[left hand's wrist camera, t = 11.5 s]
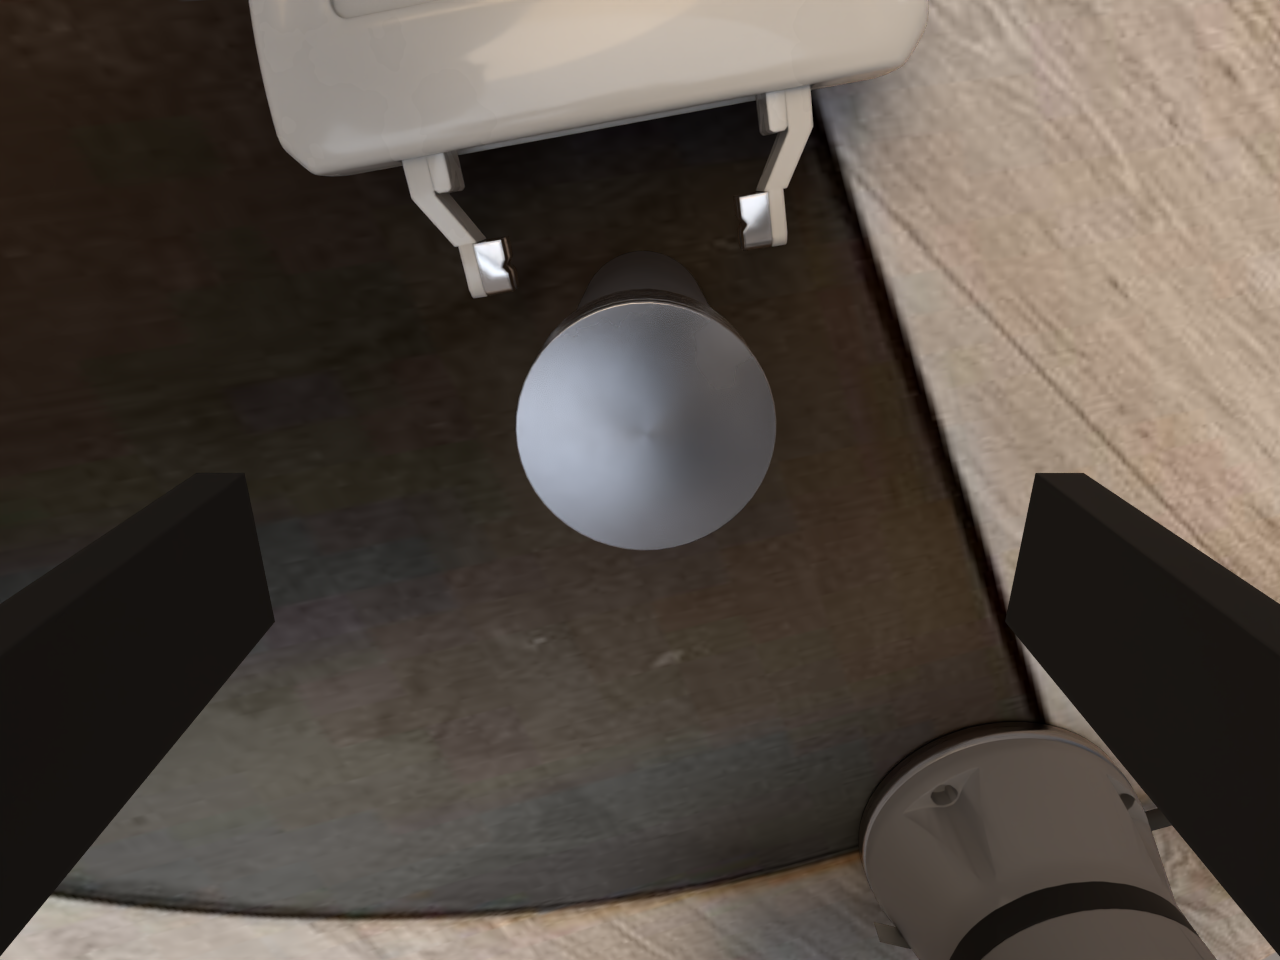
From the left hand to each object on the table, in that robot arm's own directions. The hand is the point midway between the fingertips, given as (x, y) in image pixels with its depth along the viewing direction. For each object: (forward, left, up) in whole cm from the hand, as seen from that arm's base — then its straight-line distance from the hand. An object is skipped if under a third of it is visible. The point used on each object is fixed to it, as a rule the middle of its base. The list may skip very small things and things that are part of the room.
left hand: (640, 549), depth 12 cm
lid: (0, 0, -6) cm, 6 cm away
